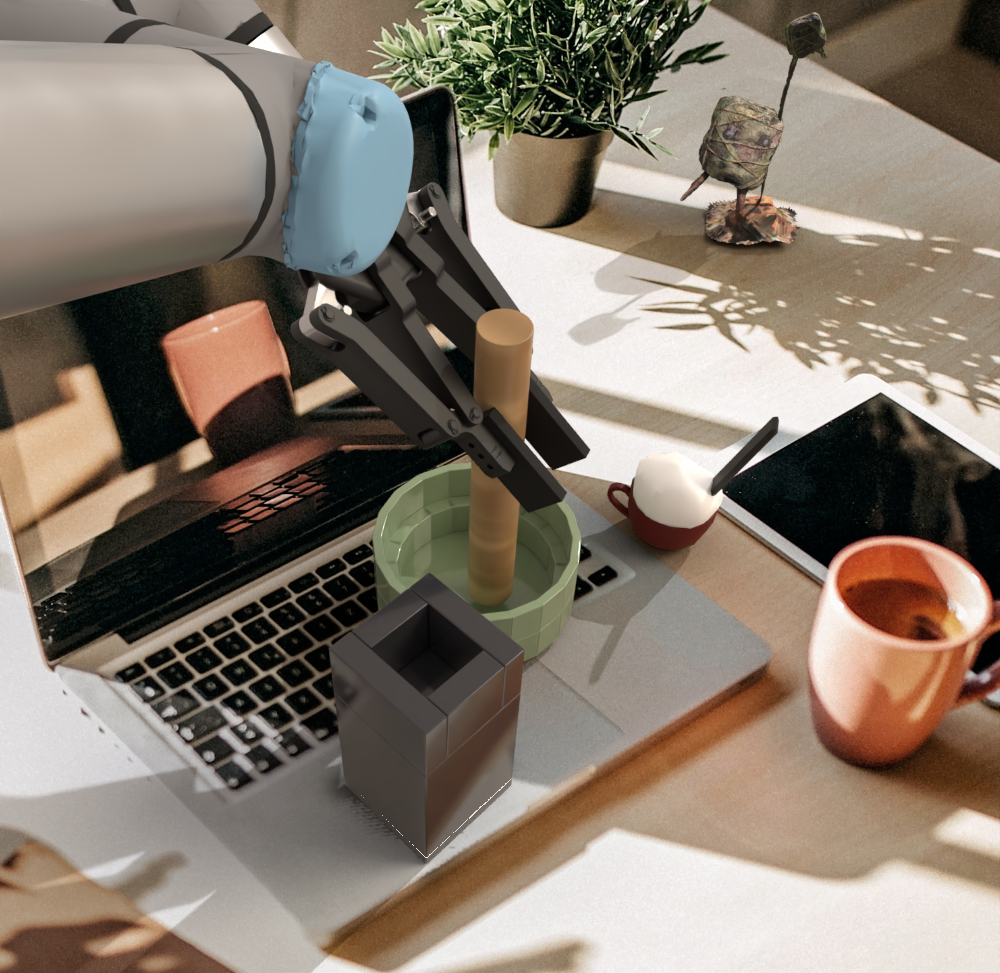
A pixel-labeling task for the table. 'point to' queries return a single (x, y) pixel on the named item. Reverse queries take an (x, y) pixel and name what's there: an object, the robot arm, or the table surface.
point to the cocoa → (680, 494)
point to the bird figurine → (752, 153)
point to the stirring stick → (491, 504)
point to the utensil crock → (427, 713)
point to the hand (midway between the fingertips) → (559, 480)
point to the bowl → (444, 553)
